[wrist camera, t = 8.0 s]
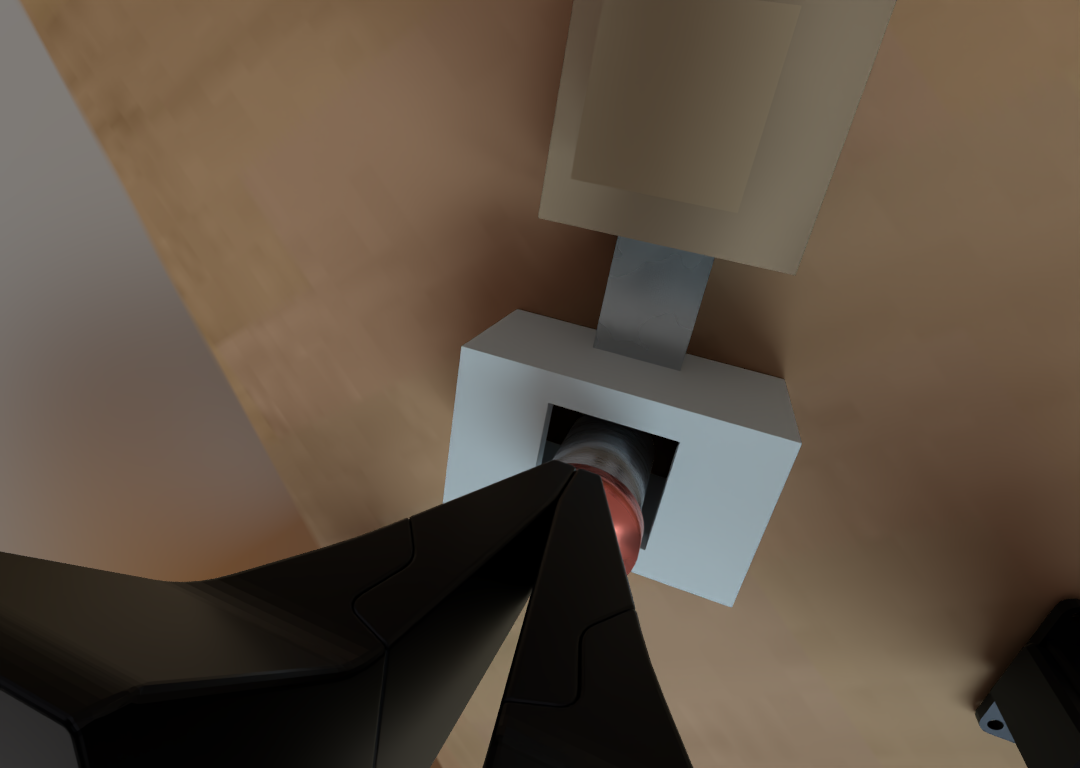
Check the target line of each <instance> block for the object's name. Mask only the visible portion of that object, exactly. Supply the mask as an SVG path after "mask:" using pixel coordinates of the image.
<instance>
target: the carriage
mask: <svg viewBox="0 0 1080 768" xmlns="http://www.w3.org/2000/svg"><path fill="white" fill-rule="evenodd" d="M896 1H897V0H574V1H573V7H572V13H571V19H570V25H569V31H568V37H567V44H566V50H565V56H564V62H563V68H562V74H561V80H560V86H559V92H558V99H557V105H556V111H555V117H554V123H553V129H552V135H551V141H550V147H549V153H548V160H547V166H546V172H545V178H544V184H543V190H542V196H541V202H540V208H539V214H538V218H541V219H545V220H549V221H554V222H558V223H563V224H567V225H572V226H576V227H581V228H585V229H590V230H594V231H599V232H603V233H608V234H612V235H617V236H621V237H625V238H630V239H634V240H639V241H643V242H648V243H652V244H657V245H661V246H666V247H670V248H675V249H679V250H684V251H688V252H693V253H697V254H701V255H706V256H710V257H715V258H719V259H724V260H728V261H733V262H737V263H742V264H746V265H751V266H755V267H760V268H764V269H769V270H773V271H777V272H782V273H786V274H791V275H796V273H797V270H798V267H799V264H800V262H801V259H802V256H803V254H804V251H805V248H806V245H807V243H808V240H809V237H810V235H811V232H812V229H813V226H814V224H815V221H816V218H817V216H818V213H819V210H820V207H821V205H822V202H823V199H824V197H825V194H826V191H827V188H828V186H829V183H830V180H831V178H832V175H833V172H834V169H835V167H836V164H837V161H838V159H839V156H840V153H841V150H842V148H843V145H844V142H845V140H846V137H847V134H848V131H849V129H850V126H851V123H852V121H853V118H854V115H855V112H856V110H857V107H858V104H859V102H860V99H861V96H862V93H863V91H864V88H865V85H866V83H867V80H868V77H869V74H870V72H871V69H872V66H873V63H874V61H875V58H876V55H877V53H878V50H879V47H880V44H881V42H882V39H883V36H884V34H885V31H886V28H887V25H888V23H889V20H890V17H891V15H892V12H893V9H894V6H895V4H896Z"/></svg>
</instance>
